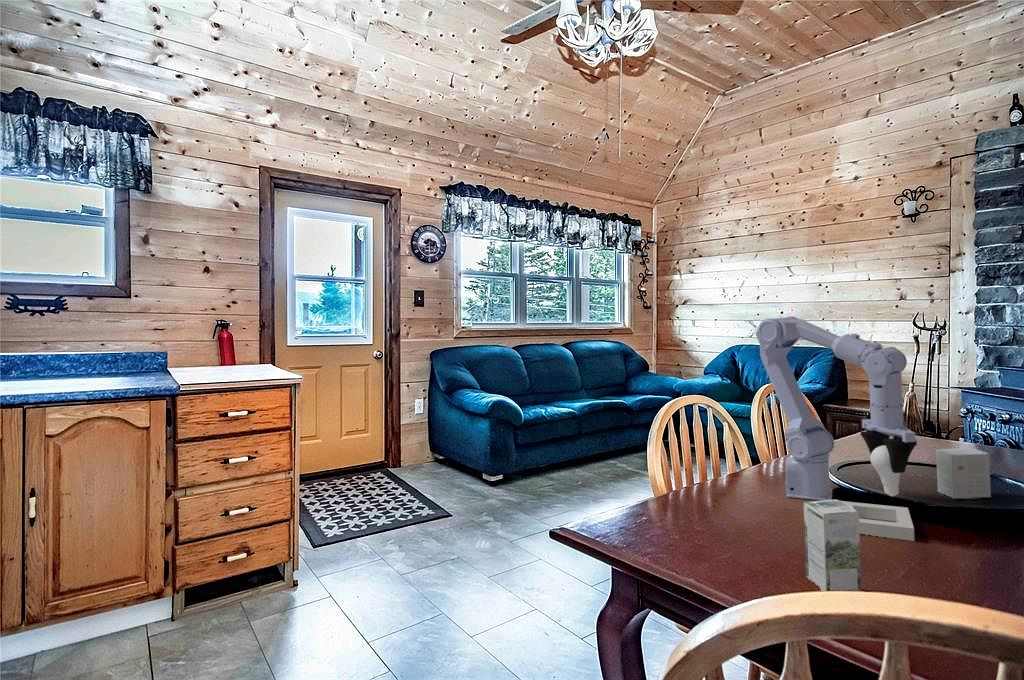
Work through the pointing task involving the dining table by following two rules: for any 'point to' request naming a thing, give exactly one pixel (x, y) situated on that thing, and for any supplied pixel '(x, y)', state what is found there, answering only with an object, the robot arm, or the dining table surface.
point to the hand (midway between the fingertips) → (888, 468)
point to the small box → (963, 472)
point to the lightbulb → (885, 470)
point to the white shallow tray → (884, 528)
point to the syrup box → (832, 545)
